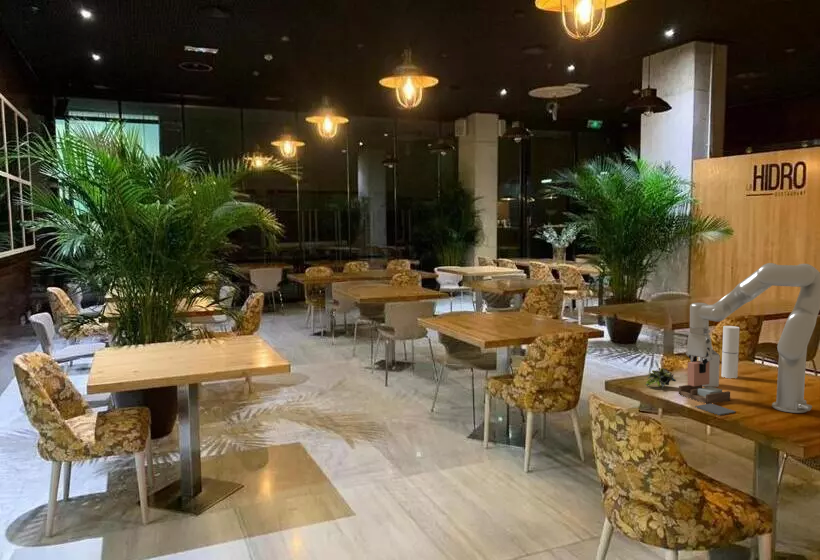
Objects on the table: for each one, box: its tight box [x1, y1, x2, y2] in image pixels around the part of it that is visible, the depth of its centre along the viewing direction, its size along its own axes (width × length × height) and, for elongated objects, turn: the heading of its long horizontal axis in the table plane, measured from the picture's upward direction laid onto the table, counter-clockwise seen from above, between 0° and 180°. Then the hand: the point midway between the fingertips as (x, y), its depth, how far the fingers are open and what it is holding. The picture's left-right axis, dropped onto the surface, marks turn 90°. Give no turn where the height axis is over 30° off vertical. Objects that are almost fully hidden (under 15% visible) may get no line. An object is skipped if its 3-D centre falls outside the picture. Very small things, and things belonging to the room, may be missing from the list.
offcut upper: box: [698, 386, 723, 397], centre depth 269 cm, size 6×8×2 cm
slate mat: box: [694, 403, 737, 416], centre depth 255 cm, size 12×9×1 cm
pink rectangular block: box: [687, 360, 710, 386], centre depth 275 cm, size 4×9×10 cm, turn 112°
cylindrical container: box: [720, 325, 741, 379], centre depth 307 cm, size 7×7×25 cm
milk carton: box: [697, 346, 721, 388], centre depth 292 cm, size 7×7×19 cm
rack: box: [678, 384, 731, 404], centre depth 272 cm, size 16×13×4 cm
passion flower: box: [645, 367, 677, 389], centre depth 289 cm, size 11×11×12 cm
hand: (698, 371), depth 275 cm, fingers closed on pink rectangular block, 3 cm apart
